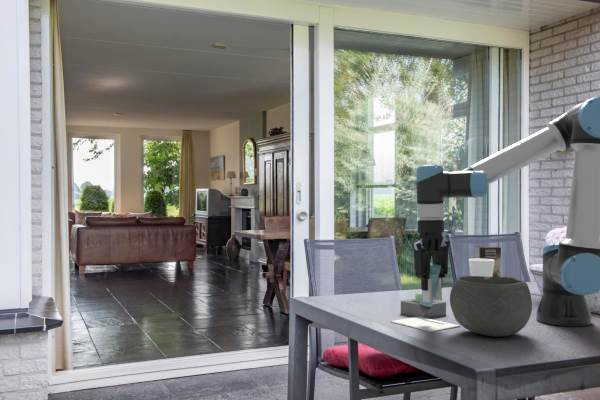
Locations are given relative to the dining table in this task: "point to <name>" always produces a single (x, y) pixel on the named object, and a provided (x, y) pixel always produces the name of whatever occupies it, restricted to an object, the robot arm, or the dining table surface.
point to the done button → (418, 297)
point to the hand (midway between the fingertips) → (432, 300)
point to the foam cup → (481, 267)
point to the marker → (434, 276)
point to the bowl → (491, 304)
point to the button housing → (413, 310)
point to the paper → (425, 324)
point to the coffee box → (491, 257)
